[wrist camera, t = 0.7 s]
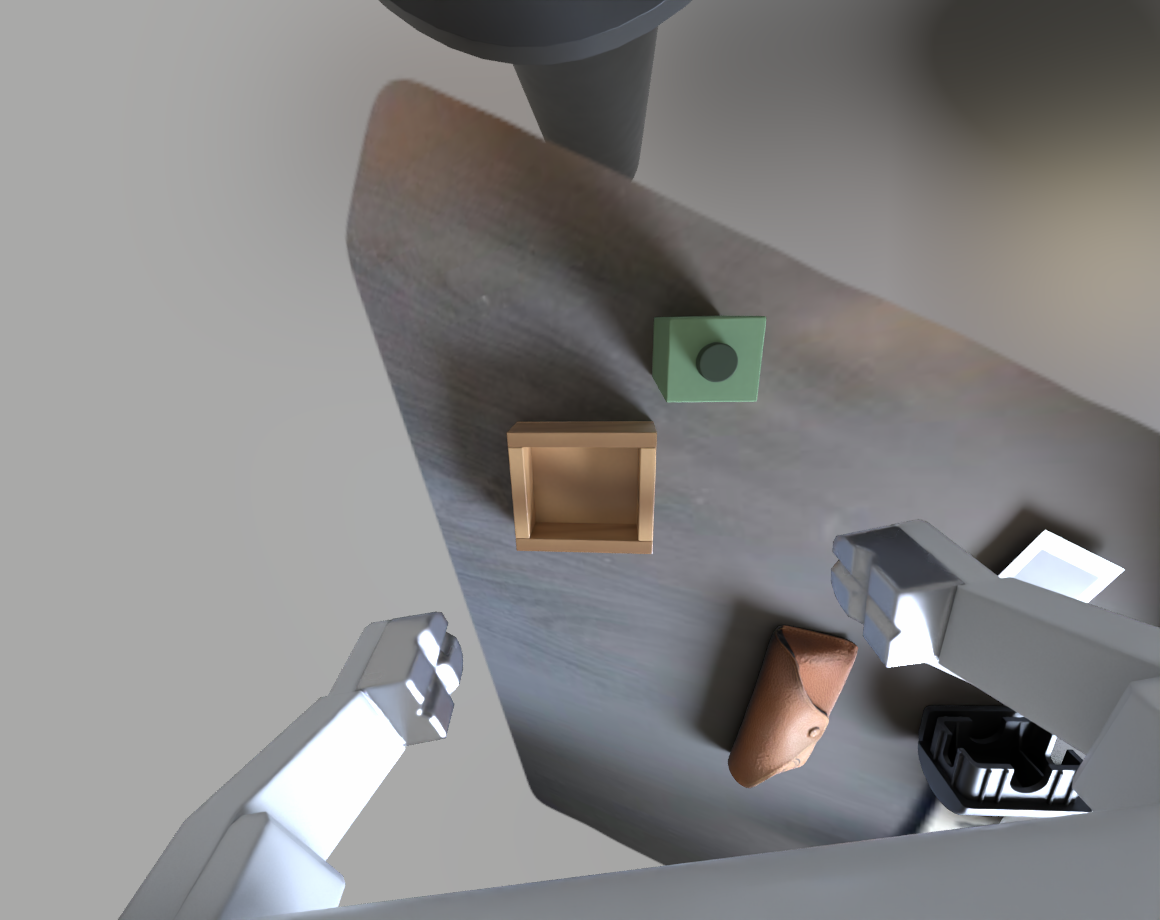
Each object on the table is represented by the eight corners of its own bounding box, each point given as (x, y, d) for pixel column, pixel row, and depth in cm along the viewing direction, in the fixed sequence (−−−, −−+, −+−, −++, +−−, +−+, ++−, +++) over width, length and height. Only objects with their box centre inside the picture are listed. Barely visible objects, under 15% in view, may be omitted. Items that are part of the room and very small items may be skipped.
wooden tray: (516, 421, 35) (506, 432, 32) (653, 420, 34) (657, 432, 31) (525, 530, 38) (516, 550, 35) (649, 533, 37) (652, 554, 34)
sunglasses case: (804, 771, 45) (793, 828, 39) (739, 731, 48) (721, 777, 43) (862, 640, 39) (858, 686, 33) (782, 604, 42) (767, 641, 37)
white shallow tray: (1110, 561, 35) (1140, 577, 33) (977, 681, 40) (996, 701, 38) (1032, 523, 34) (1058, 536, 32) (907, 648, 39) (923, 667, 37)
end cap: (907, 755, 43) (957, 831, 37) (919, 704, 41) (974, 776, 35) (1013, 757, 42) (1083, 835, 36) (1031, 705, 40) (1109, 779, 34)
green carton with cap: (654, 317, 31) (671, 318, 21) (721, 315, 31) (774, 316, 21) (652, 377, 33) (667, 406, 23) (716, 376, 32) (763, 405, 22)
